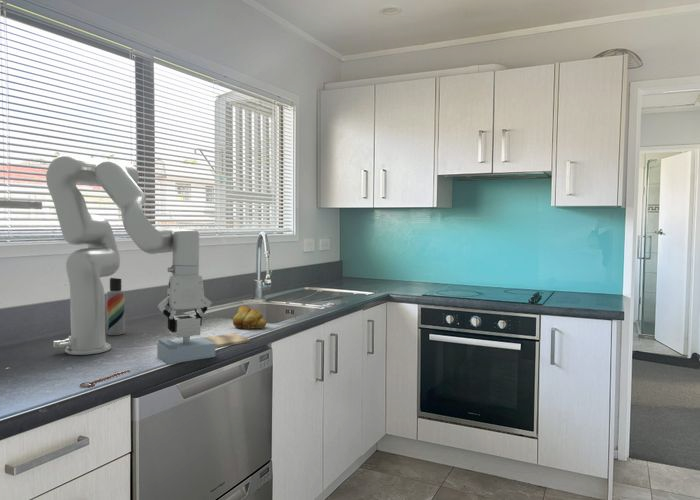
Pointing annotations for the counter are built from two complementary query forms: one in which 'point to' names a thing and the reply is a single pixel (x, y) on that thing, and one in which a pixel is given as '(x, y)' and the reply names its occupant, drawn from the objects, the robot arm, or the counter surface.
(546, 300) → the counter surface
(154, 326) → the counter surface
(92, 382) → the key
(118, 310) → the lotion bottle
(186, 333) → the grey block with hole
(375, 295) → the counter surface
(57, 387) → the counter surface
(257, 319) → the bread roll
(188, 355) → the vise block
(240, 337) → the cork mat
